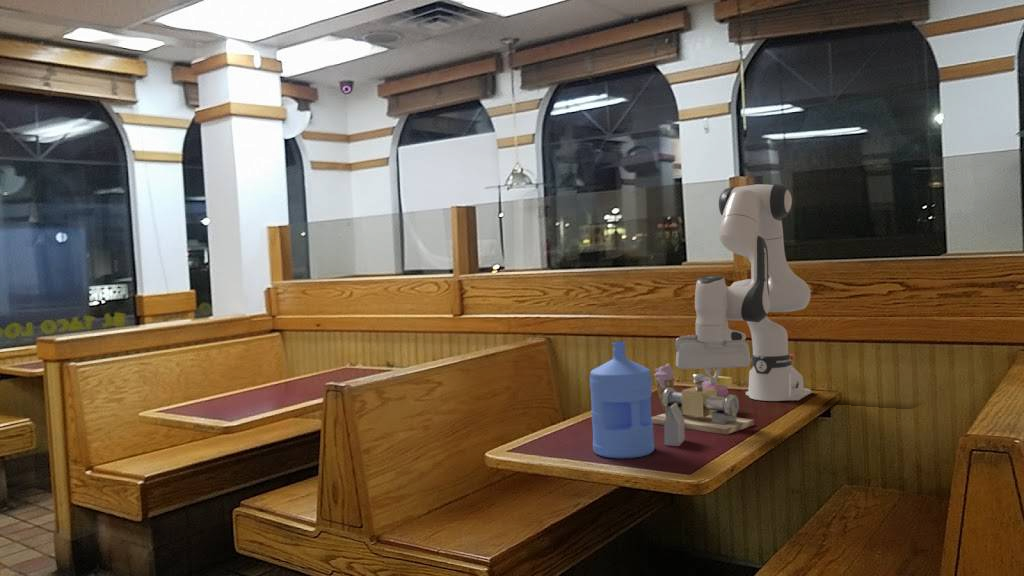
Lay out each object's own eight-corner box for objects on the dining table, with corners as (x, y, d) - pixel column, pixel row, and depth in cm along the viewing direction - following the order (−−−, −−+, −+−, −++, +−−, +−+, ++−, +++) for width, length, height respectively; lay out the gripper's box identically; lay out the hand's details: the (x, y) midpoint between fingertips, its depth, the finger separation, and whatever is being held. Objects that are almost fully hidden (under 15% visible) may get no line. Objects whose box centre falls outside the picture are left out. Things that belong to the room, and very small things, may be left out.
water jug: (582, 449, 217) (577, 342, 215) (633, 441, 223) (629, 337, 222) (612, 462, 202) (607, 348, 201) (667, 453, 209) (662, 342, 207)
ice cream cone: (675, 413, 256) (673, 364, 255) (654, 413, 257) (652, 365, 256) (675, 408, 262) (673, 361, 261) (655, 409, 263) (653, 362, 263)
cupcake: (722, 415, 249) (721, 382, 248) (695, 413, 253) (693, 381, 253) (732, 410, 256) (731, 377, 255) (705, 408, 261) (704, 376, 260)
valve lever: (690, 381, 239) (690, 374, 239) (697, 380, 241) (697, 373, 241) (725, 386, 230) (725, 378, 229) (732, 384, 232) (732, 377, 231)
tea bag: (684, 440, 222) (683, 402, 221) (678, 446, 215) (677, 408, 215) (671, 439, 223) (669, 402, 223) (664, 445, 217) (663, 407, 217)
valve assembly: (677, 414, 254) (675, 375, 253) (753, 425, 235) (752, 382, 234) (649, 422, 244) (647, 382, 244) (726, 434, 225) (724, 390, 224)
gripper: (677, 337, 227) (679, 387, 228) (751, 334, 228) (752, 384, 229) (672, 334, 234) (673, 383, 234) (744, 331, 234) (745, 380, 235)
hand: (713, 384), depth 231 cm, fingers closed
